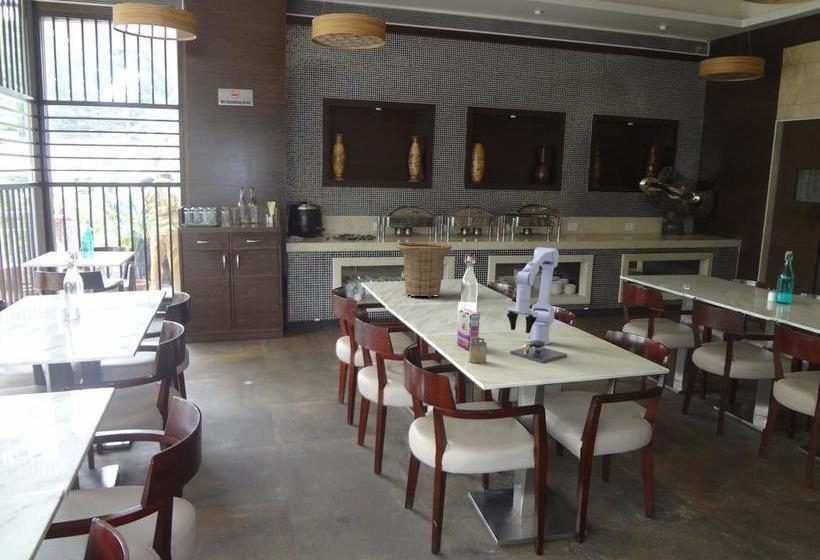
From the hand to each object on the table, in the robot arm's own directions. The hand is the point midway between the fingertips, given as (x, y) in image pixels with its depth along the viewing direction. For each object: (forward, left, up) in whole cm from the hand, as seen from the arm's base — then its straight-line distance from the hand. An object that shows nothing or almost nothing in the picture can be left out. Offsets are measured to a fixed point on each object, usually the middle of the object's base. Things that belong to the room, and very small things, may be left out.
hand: (520, 331), depth 263 cm
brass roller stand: (+4, +4, -8) cm, 10 cm away
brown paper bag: (-3, -23, -10) cm, 25 cm away
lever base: (+6, +6, -10) cm, 13 cm away
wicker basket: (-126, +59, -10) cm, 140 cm away
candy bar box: (-21, -10, -10) cm, 25 cm away
